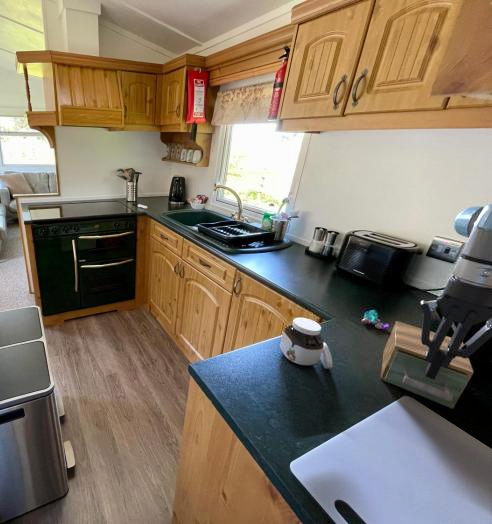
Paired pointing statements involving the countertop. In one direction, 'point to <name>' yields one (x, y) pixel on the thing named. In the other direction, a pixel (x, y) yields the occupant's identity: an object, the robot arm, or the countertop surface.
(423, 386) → the drawer
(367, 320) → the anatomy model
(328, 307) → the countertop surface
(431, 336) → the cabinet
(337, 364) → the countertop surface
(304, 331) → the spread jar
